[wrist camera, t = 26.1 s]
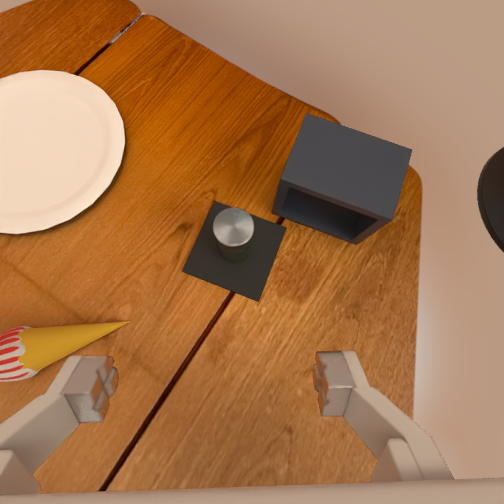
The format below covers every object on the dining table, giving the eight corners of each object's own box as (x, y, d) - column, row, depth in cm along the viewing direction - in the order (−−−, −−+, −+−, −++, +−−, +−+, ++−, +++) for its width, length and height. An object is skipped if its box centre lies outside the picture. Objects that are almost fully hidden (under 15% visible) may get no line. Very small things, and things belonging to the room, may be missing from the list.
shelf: (373, 189, 46) (412, 149, 36) (356, 245, 44) (393, 219, 33) (292, 160, 47) (306, 112, 36) (271, 213, 45) (280, 178, 34)
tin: (256, 240, 43) (260, 215, 33) (244, 269, 42) (245, 252, 32) (227, 228, 43) (222, 201, 34) (214, 257, 42) (206, 237, 33)
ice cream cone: (136, 329, 44) (-24, 378, 37) (126, 293, 42) (-46, 337, 35) (137, 352, 38) (-51, 414, 32) (125, 311, 36) (-78, 368, 30)
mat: (286, 228, 44) (286, 227, 44) (258, 301, 41) (258, 301, 41) (214, 201, 45) (214, 200, 44) (182, 271, 42) (181, 271, 42)
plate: (123, 232, 43) (119, 229, 42) (-78, 241, 42) (-91, 237, 40) (132, 75, 50) (128, 66, 49) (-40, 78, 49) (-50, 70, 47)
